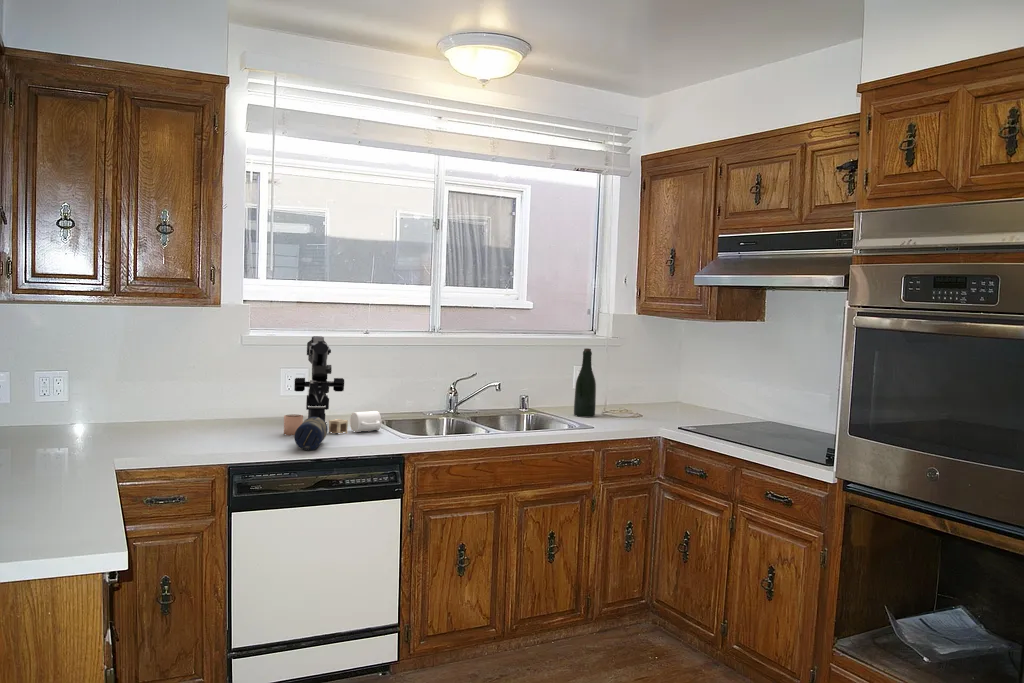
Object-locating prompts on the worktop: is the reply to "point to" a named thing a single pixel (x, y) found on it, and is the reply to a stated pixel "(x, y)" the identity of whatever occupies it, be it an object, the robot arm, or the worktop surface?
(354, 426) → the mug
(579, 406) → the beer bottle
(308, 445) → the canister
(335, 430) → the letter cube
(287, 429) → the cup
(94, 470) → the worktop surface
